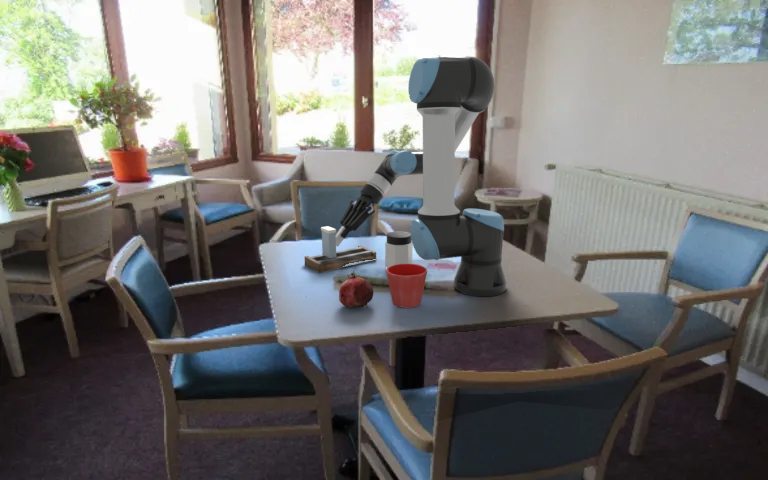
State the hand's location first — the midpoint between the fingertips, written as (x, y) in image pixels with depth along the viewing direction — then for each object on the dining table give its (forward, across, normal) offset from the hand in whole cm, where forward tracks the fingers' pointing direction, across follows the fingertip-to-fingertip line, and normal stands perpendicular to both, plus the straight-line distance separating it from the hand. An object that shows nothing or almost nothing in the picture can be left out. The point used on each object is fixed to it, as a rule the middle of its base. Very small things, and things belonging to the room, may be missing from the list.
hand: (334, 243), depth 167 cm
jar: (-5, -18, -15) cm, 24 cm away
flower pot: (+5, -41, -5) cm, 42 cm away
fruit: (+14, -36, +4) cm, 39 cm away
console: (+4, -1, -6) cm, 7 cm away
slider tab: (+5, -1, -2) cm, 6 cm away
